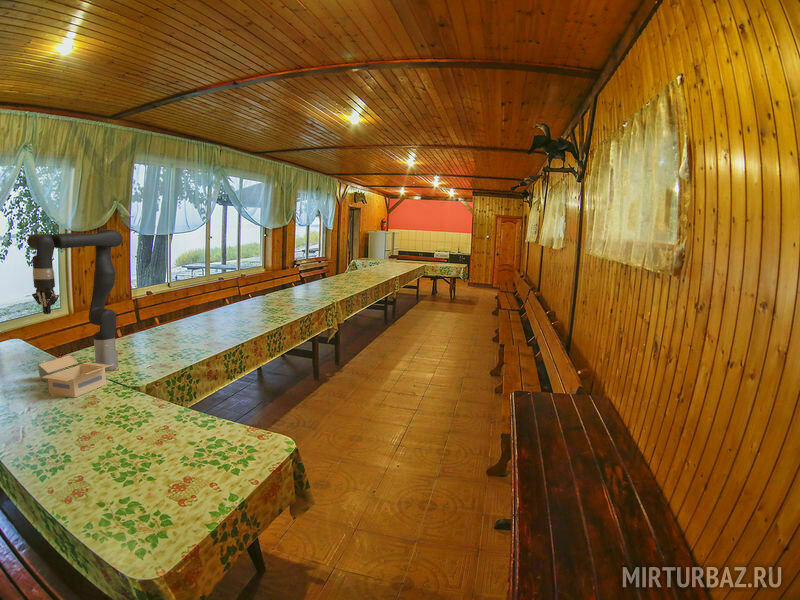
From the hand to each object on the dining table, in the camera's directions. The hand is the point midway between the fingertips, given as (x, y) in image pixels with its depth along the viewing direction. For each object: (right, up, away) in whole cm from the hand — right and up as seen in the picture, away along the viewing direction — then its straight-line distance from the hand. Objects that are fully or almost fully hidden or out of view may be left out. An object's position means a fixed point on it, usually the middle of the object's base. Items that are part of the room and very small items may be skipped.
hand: (47, 313), depth 196 cm
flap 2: (+26, -26, -3) cm, 37 cm away
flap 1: (+6, -24, 0) cm, 24 cm away
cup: (-6, -34, +9) cm, 35 cm away
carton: (+15, -36, 0) cm, 39 cm away
